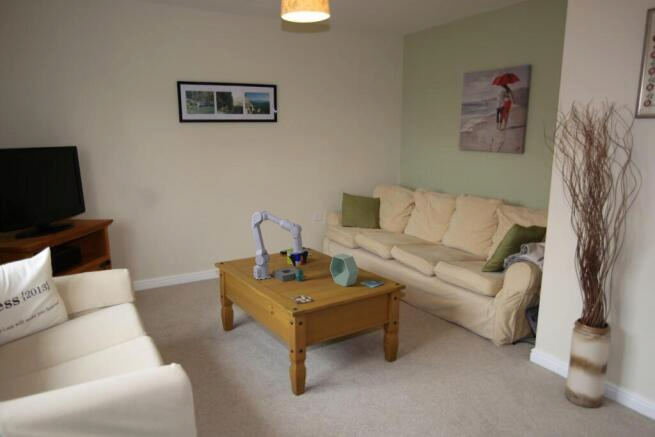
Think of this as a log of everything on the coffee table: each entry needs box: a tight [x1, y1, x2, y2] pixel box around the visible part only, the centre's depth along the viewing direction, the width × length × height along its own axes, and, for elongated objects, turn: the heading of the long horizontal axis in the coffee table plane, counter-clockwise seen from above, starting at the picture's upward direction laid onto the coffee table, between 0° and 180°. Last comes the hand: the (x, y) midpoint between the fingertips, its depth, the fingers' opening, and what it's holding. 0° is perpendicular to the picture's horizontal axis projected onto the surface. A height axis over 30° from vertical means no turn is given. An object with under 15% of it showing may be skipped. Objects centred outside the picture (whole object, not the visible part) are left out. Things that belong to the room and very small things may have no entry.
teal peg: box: [295, 268, 304, 283], centre depth 298 cm, size 4×4×7 cm
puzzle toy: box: [286, 248, 308, 267], centre depth 337 cm, size 10×10×10 cm
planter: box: [329, 253, 360, 288], centre depth 290 cm, size 17×8×21 cm
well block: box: [272, 266, 298, 283], centre depth 306 cm, size 14×14×4 cm
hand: (299, 264), depth 298 cm, fingers open, 7 cm apart
